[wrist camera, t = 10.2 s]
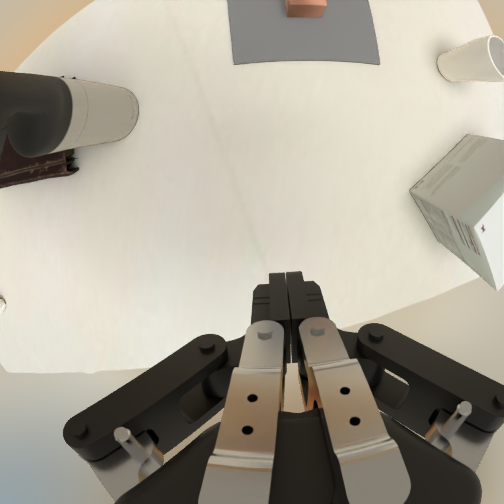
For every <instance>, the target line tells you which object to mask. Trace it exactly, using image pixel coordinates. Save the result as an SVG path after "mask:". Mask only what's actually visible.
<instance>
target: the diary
mask: <svg viewBox="0 0 504 504" xmlns="http://www.w3.org/2000/svg"><path fill="white" fill-rule="evenodd" d="M62 78H64V76H62ZM72 79H75V77H74V78H72ZM72 154H74V148H72V149H67V150H63V151H58V152H54V153H49V154H46V155H42V156H38V157H32V158H29V157H24V156H21V155H20V154H18V153H17V152H16V151H15V150H14V148H13V147H12V145H11V143H10V141H9V138H8V133H7V136H6V139H5V143H4V147H3V151H2V155H1V159H0V188H4V187H8V186H12V185H17V184H23V183H29V182H34V181H38V180H43V179H47V178H55V177H63V176H69V175H72V174H74V173H75V172H77V171H78V170H79V167H77V168H71V169H67V167H66V165H68V164H71V163H72V162H73V161H74V159H76V158H70V159H66V157H68V156H71V155H72Z"/></svg>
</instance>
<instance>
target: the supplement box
mask: <svg viewBox="0 0 504 504" xmlns="http://www.w3.org/2000/svg"><path fill="white" fill-rule="evenodd" d="M410 193H411V195H412V196H413V198H414V199H415V201H416V203H417V204H418V206H419V208H420V210H421V211H422V213H423V215H424V216H425V218H426V220H427V222H428V223H429V225H430V227H431V229H432V231H433V232H434V234H435V236H436V238H437V240H438V241H439V243H441V244H442V245H444V246H445V247H446V248H447V249H449V250H450V251H451V252H452V253H454V254H455V255H456V256H457V257H458V258H460V259H461V260H462V261H463V262H464V263H466V264H467V265H468V266H469V267H470V268H471V269H472V270H474V271H475V272H476V273H477V274H478V275H479V276H480V277H482V278H483V279H484V280H485V281H486V282H487V283H488V284H490V285H491V286H492V287H493V288H494V289H495V290H496V291H498V290H499V289H500V288H501V287H502V286H503V285H504V140H499V139H494V138H488V137H482V136H476V135H469V134H466V137H465V138H464V139H463V140H462V141H461V142H460V143H459V144H458V145H457V146H456V147H455V148H454V149H453V150H451V151H450V152H449V153H448V154H447V155H446V156H445V157H444V158H443V159H442V160H441V161H440V162H439V163H438V164H437V165H436V166H435V167H434V168H433V169H432V170H431V171H430V172H429V173H428V174H427V175H425V176H424V177H423V178H422V179H421V180H420V181H419V182H418V183H417V184H416V185H415V186H414V187H413V188H411V189H410Z"/></svg>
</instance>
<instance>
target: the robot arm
mask: <svg viewBox="0 0 504 504" xmlns="http://www.w3.org/2000/svg"><path fill="white" fill-rule="evenodd" d="M137 118H138V103H137V100H136V98H135V96H134V95H133V93H132V92H130V91H129V90H127V89H125V88H121V87H116V86H112V85H107V84H101V83H96V82H90V81H84V80H77V79H70V78H62V77H53V76H44V75H36V74H27V73H14V72H3V71H0V159H1V155H2V151H3V147H4V143H5V139H6V136H7V133H8V138H9V141H10V143H11V145H12V147H13V148H14V150H15V151H16V152H17V153H18V154H20V155H21V156H24V157H29V158H32V157H38V156H42V155H46V154H49V153H54V152H58V151H63V150H67V149H72V148H77V147H82V146H88V145H94V144H100V143H107V142H113V141H118V140H120V139H122V138H124V137H126V136H127V135H128V134H129V133H130V132H131V131H132V129H133V128H134V126H135V124H136V121H137ZM290 344H291V350H290ZM291 355H292V363H298V379H299V384H300V389H301V394H302V399H303V404H304V409H305V412H302V413H291V412H284V411H283V410H284V392H285V375H286V372H287V363H290V362H291V358H290V357H291ZM385 369H387V370H389V371H390V372H392V373H394V374H395V375H397V376H399V377H401V378H403V379H404V380H405V381H407V382H408V384H409V385H407V384H405V383H403V382H402V381H400V380H398V379H396V378H395V377H393V376H391V375H390V374H388V373H386V372H385V371H384V370H385ZM223 408H224V411H223V416H222V420H221V422H219V423H216V424H215V425H213V426H211V427H209V428H208V429H206V430H205V431H204V432H203V433H201V434H200V435H199V436H198V437H197V438H196V439H194V440H193V441H192V442H191V443H190V444H189V445H187V446H186V447H185V448H184V449H183V450H181V451H180V452H179V453H178V454H177V455H175V456H174V457H173V458H171V459H170V460H169V461H168V462H166V463H165V464H164V465H163V463H164V456H163V455H164V454H166V453H167V452H169V451H170V450H171V449H173V448H174V447H175V446H177V445H178V444H179V443H180V442H182V441H183V440H184V439H185V438H187V437H188V436H190V435H191V434H192V433H193V432H195V431H196V430H197V429H198V428H200V427H201V426H202V425H203V424H205V423H206V422H207V421H208V420H209V419H211V418H212V417H213V416H214V415H216V414H217V413H218V412H219V411H220V410H221V409H223ZM378 409H379V410H381V411H382V412H384V413H386V414H387V415H386V414H384V413H382V412H379V410H378ZM388 415H389V416H388ZM391 417H392V418H391ZM394 419H395V420H394ZM396 420H397V421H398V422H397V421H396ZM399 422H400V423H401V424H400V423H399ZM503 423H504V385H502V384H500V383H498V382H496V381H494V380H492V379H490V378H488V377H486V376H484V375H482V374H480V373H478V372H476V371H474V370H472V369H470V368H468V367H466V366H464V365H462V364H460V363H458V362H456V361H454V360H452V359H450V358H448V357H446V356H444V355H442V354H440V353H438V352H436V351H434V350H432V349H430V348H429V347H426V346H424V345H423V344H420V343H419V342H416V341H415V340H413V339H411V338H409V337H407V336H405V335H403V334H401V333H399V332H397V331H395V330H393V329H391V328H389V327H387V326H385V325H382V324H378V323H371V324H366V325H364V326H362V327H361V328H360V330H359V331H358V333H353V332H346V331H342V330H340V329H338V328H337V327H336V325H335V324H334V322H333V321H331V320H330V319H329V316H328V313H327V309H326V306H325V302H324V300H323V296H322V293H321V289H320V286H319V285H317V284H316V283H315V282H314V281H305V282H304V280H303V276H302V272H301V271H297V272H286V279H285V272H283V273H269V284H260V285H258V286H257V287H256V288H255V289H254V291H253V302H252V316H251V325H250V326H249V327H248V329H247V331H246V334H245V335H244V336H242V337H241V338H238V339H235V340H232V341H228V342H226V341H225V340H224V339H223V338H222V337H221V336H219V335H215V334H205V335H201V336H199V337H197V338H195V339H193V340H192V341H191V342H189V343H188V344H186V345H185V346H183V347H182V348H180V349H179V350H177V351H176V352H174V353H173V354H171V355H170V356H168V357H167V358H165V359H164V360H162V361H161V362H159V363H158V364H156V365H155V366H153V367H152V368H150V369H149V370H147V371H146V372H144V373H142V374H141V375H139V376H138V377H136V378H135V379H133V380H132V381H130V382H129V383H127V384H125V385H124V386H122V387H121V388H119V389H117V390H116V391H114V392H113V393H111V394H109V395H108V396H106V397H105V398H103V399H102V400H100V401H98V402H97V403H95V404H93V405H92V406H90V407H88V408H87V409H85V410H84V411H82V412H80V413H78V414H77V415H75V416H73V417H72V418H70V419H69V420H68V422H67V423H66V424H65V426H64V429H63V437H64V440H65V441H66V443H67V444H68V445H69V446H70V447H71V448H72V449H74V450H75V451H76V452H77V453H78V454H79V456H80V457H81V458H82V459H83V460H84V461H86V462H87V463H88V464H89V465H90V466H91V468H92V469H93V471H94V472H95V474H96V475H97V477H98V478H99V480H100V481H101V483H102V484H103V485H104V487H105V488H106V490H107V491H108V493H109V494H110V495H111V497H112V498H113V499H114V501H115V504H480V502H481V497H482V489H481V484H480V480H479V478H478V477H477V475H476V473H475V471H476V470H477V468H478V466H479V464H480V462H481V460H482V458H483V456H484V454H485V452H486V450H487V448H488V446H489V444H490V441H491V439H492V437H493V434H494V433H495V432H496V431H497V430H498V429H499V428H500V427H501V425H502V424H503ZM402 424H403V425H405V426H406V427H408V428H409V429H411V430H413V431H414V432H416V433H418V434H420V435H421V436H423V437H424V438H425V440H424V439H423V438H421V437H420V436H418V435H417V434H415V433H414V432H412V431H411V430H409V429H408V428H406V427H405V426H403V425H402Z"/></svg>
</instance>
